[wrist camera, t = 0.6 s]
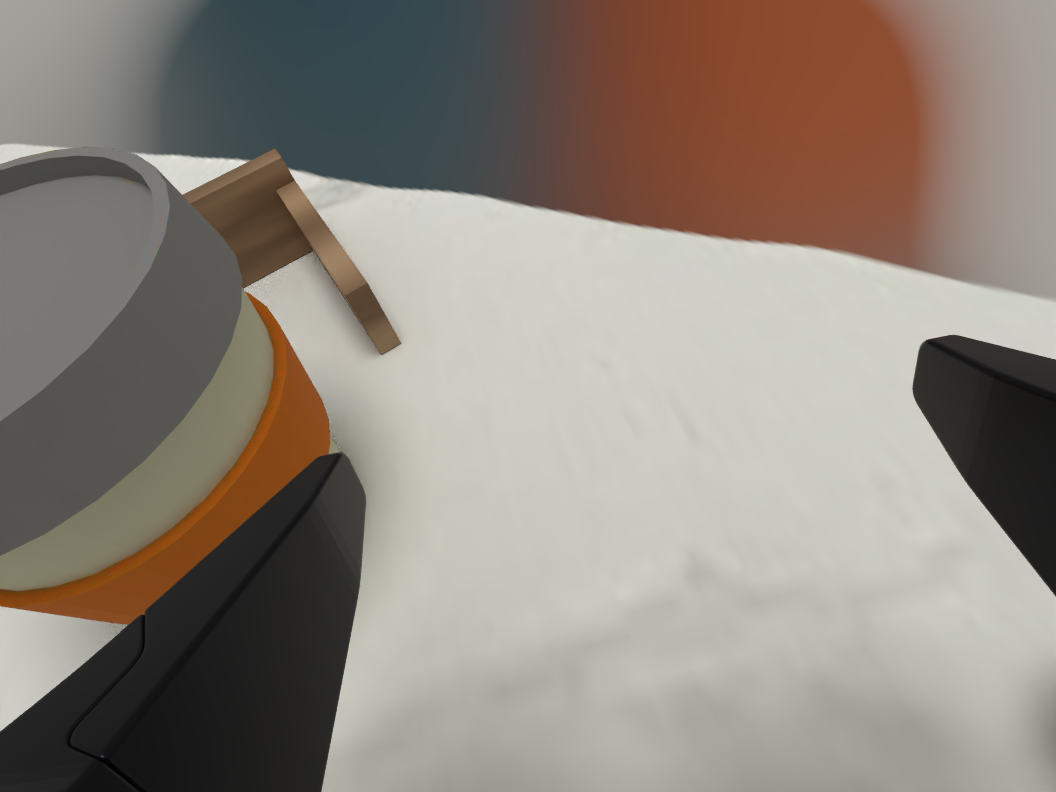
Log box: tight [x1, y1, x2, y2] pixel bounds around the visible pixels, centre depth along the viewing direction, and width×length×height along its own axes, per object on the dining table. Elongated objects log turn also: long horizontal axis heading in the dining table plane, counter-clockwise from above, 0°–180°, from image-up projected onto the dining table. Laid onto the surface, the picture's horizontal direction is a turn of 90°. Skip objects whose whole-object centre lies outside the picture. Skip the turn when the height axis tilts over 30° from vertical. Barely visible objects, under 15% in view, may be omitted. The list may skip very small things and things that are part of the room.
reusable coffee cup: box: [0, 147, 340, 625], centre depth 21 cm, size 13×12×15 cm
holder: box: [183, 149, 401, 355], centre depth 31 cm, size 12×19×6 cm, turn 122°
